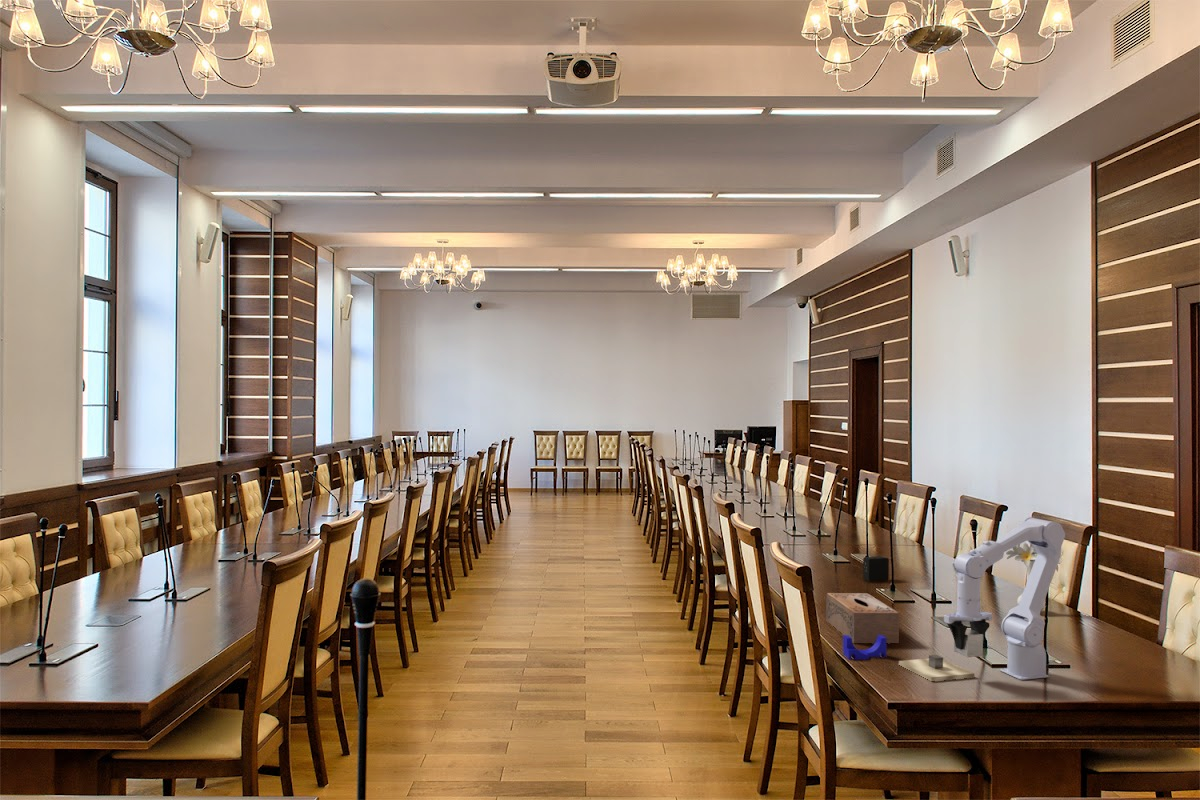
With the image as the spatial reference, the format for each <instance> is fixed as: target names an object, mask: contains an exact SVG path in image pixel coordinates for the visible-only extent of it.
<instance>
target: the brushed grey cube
mask: <svg viewBox="0 0 1200 800" xmlns="http://www.w3.org/2000/svg"><path fill="white" fill-rule="evenodd" d="M953 642H954V643H953V645H954V647H953V652H955V653H957V654H959V655H961V656H963V657H966V658H973V657H975V658H976V657H983V651H984V650H983V649H984V648H983V647H984V645H983V644H984V636H983V634H981V633H979V632H976V631H974V630H971V628H967V629H966V632H965V637H964V648H963V650H961V649H958V648H956V646H955V641H953Z"/></svg>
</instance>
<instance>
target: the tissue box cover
mask: <svg viewBox="0 0 1200 800" xmlns="http://www.w3.org/2000/svg"><path fill="white" fill-rule="evenodd" d="M825 616H826V618H825V619H826V622H827V623H828V622H829V623H830V624H831V625H830V624H829V623H828V624H829V625H830V626H831V627H833V626H834V627H835V628H836V629H837V632H839V631H840V632H841V633H842V634H841V633H840V632H839V633H840V634H841V635H842V636H843V635H848V636H850V637H851V638H852V642H853V643H872V644H871V645H874V644H875V643H876V640H877V635H883V636H884V637H886V643H888V644H889V645H891V644H890V643H899V641H900V640H899V637H900V634H899V633H900V612H899V611H897V610H895V609H893V608H892V607H891V606H889V605H887V604H886V603H884V602H883V601H881V600H879V599H877V598H875V597H874V596H873V595H871V594H870V593H867V592H866V593H865V592H863V593H860V592H857V593H855V592H854V593H853V592H852V593H851V592H845V593H844V592H843V593H842V592H839V593H838V592H836V593H835V592H826V615H825ZM834 627H833V628H834ZM835 628H834V629H835ZM836 629H835V630H836ZM888 644H887V645H888ZM899 644H900V643H899Z"/></svg>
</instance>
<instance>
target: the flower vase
mask: <svg viewBox="0 0 1200 800" xmlns="http://www.w3.org/2000/svg"><path fill="white" fill-rule="evenodd" d="M1005 552H1006V555H1008V556H1007V557H1006V560H1008V559H1011V558H1013V557H1014V560H1015V561H1018V562H1019V561H1021V563H1023V564H1024V566H1025V568H1026V583H1027V581H1028V578H1029V575H1030V573H1031V570H1032V567H1033V564H1034V562H1035V559H1036V556H1037V552H1036V550H1035V548H1034V547H1033V546H1032V545H1031V546H1029V545H1028V543H1026V542H1023V543H1022V546H1021V544H1019V545H1017V546H1015V547H1013V548H1012V549H1009V550H1007V551H1005ZM1062 555H1063V551H1061V556H1060V559H1059V562H1058V565H1057V567H1056V570H1055V571H1056V572H1058V571H1059V565H1060V564H1061V563H1062V562H1063V560H1062V558H1061V557H1062ZM1022 594H1023V592H1022V593H1021V594H1020V595H1019V596H1018V597H1017V599H1016V604H1017V606H1018V605H1019V602H1020V600H1021V597H1022ZM1045 603H1046V601H1045V600H1044V603H1043V606H1042V608H1041V611H1043V610H1044V609H1045V608H1046V606H1045ZM1041 611H1040V614H1041Z"/></svg>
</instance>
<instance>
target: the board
mask: <svg viewBox="0 0 1200 800" xmlns="http://www.w3.org/2000/svg"><path fill="white" fill-rule="evenodd" d="M899 665H900V666H899ZM898 666H899V667H901V666H902V667H901V668H903V667H904V669H905V668H906V669H905V670H907V669H908V671H909V670H910V672H911V671H912V672H911V673H913V672H914V673H913V674H915V673H916V674H915V675H917V674H918V675H917V676H919V675H920V676H919V677H921V676H922V678H923V677H924V678H923V679H925V678H926V679H925V680H927V679H928V680H927V681H929V680H930V681H929V682H931V681H935V682H945V681H944V680H946V681H953V680H952V679H956V680H963V679H964V678H967V679H974V678H975V672H972V671H970V670H968V669H966V668H963V667H961V666H960V665H957V664H956V663H953V662H951V661H948V660H946V659H944V658H943V668H940V669H934V668H932V667H930V666H929V657H928V658H918V659H908V660H907V659H906V660H905V659H904V660H898ZM964 680H965V679H964Z"/></svg>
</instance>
